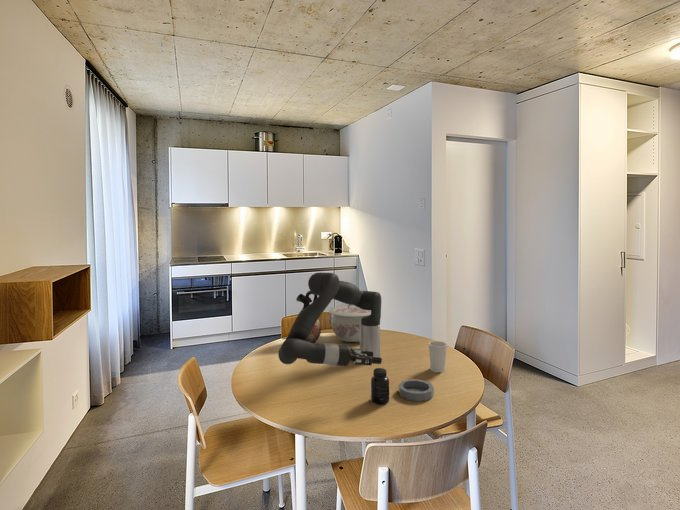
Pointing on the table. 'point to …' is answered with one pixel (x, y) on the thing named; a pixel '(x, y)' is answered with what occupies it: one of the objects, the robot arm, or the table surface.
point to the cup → (437, 356)
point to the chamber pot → (347, 322)
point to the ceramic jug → (316, 329)
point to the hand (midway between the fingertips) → (376, 357)
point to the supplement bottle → (380, 387)
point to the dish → (416, 390)
